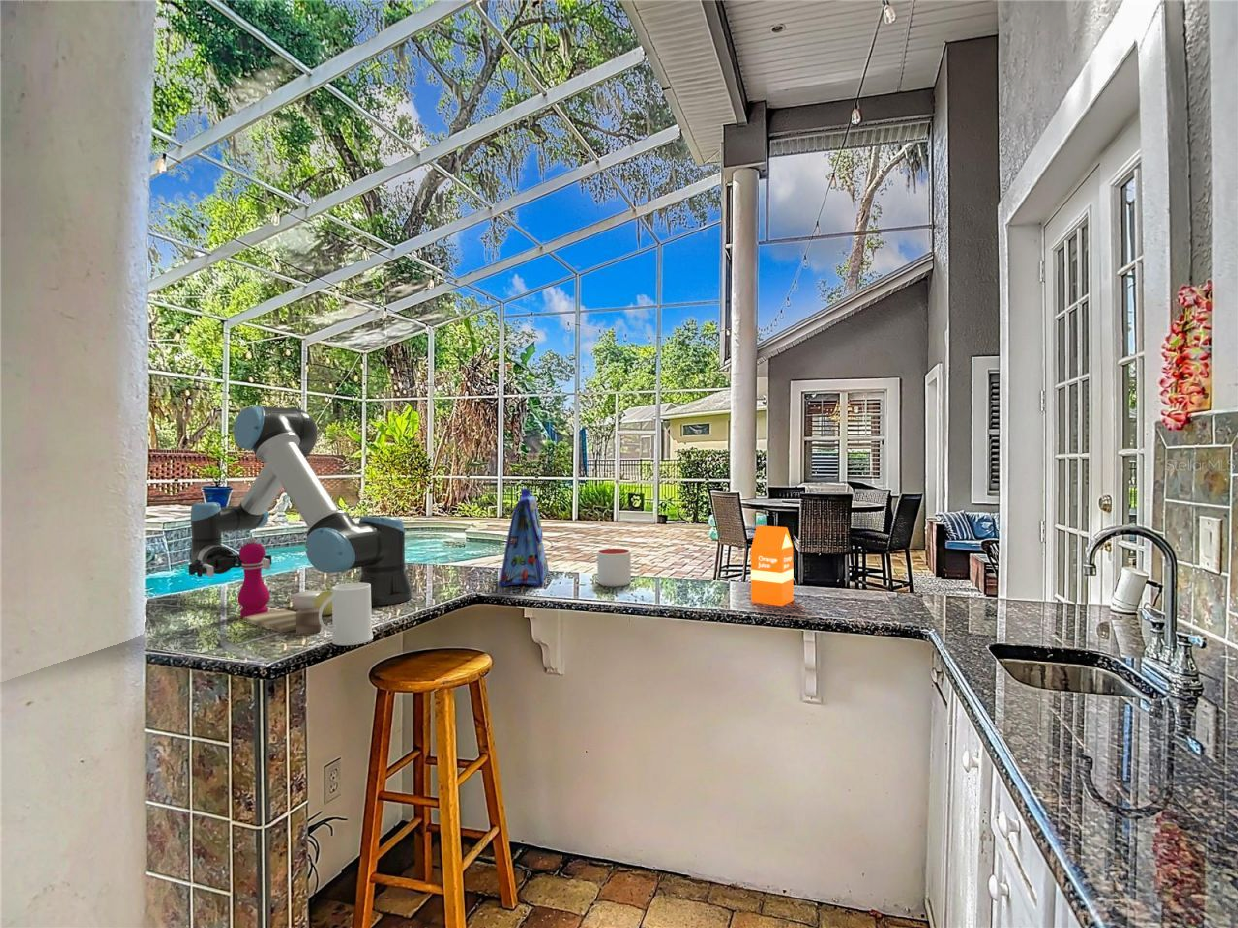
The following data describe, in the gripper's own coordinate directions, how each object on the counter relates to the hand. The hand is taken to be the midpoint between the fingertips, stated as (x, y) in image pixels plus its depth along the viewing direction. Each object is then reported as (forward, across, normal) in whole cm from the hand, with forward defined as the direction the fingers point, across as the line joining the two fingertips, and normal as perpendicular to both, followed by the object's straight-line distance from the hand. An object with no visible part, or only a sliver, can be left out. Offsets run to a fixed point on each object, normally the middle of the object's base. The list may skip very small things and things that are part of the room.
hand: (240, 568), depth 180 cm
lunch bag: (+26, -74, -11) cm, 79 cm away
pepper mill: (+9, 0, -11) cm, 14 cm away
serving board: (+23, -2, -11) cm, 25 cm away
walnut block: (+35, -4, -11) cm, 37 cm away
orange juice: (+100, -99, -11) cm, 141 cm away
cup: (+52, -87, -11) cm, 102 cm away
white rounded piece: (+10, -14, -11) cm, 20 cm away
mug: (+50, -6, -11) cm, 52 cm away
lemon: (+23, -13, -11) cm, 29 cm away
